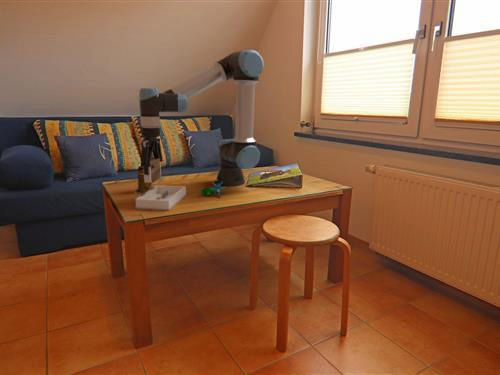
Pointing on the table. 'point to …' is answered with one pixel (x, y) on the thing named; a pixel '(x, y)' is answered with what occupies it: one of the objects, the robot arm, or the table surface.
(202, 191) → the stick construction toy
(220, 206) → the table surface
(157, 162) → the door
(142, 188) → the condiment
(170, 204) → the shallow white tray
